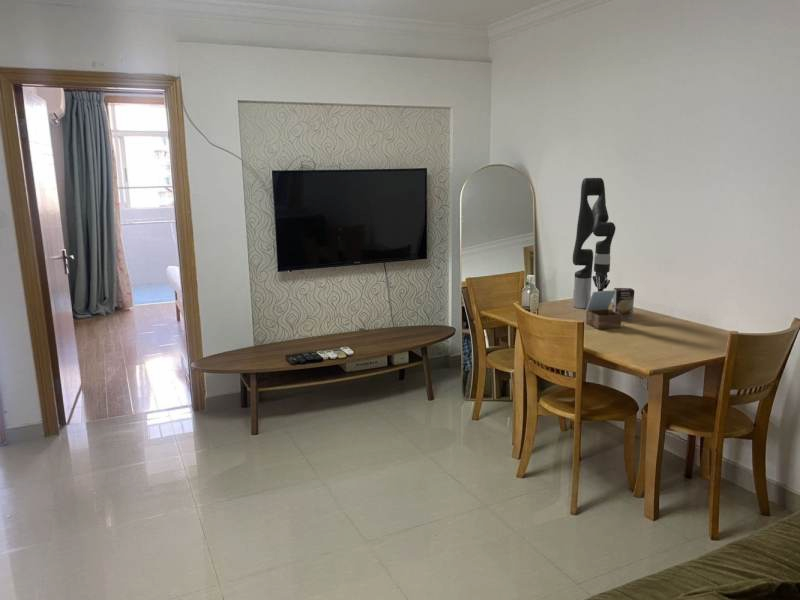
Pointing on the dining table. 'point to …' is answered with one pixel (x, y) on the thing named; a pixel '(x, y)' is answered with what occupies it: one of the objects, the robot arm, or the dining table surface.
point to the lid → (600, 300)
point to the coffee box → (623, 302)
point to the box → (603, 319)
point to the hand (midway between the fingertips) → (600, 296)
